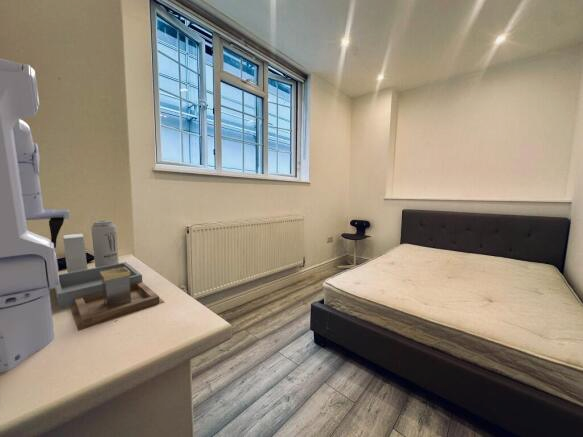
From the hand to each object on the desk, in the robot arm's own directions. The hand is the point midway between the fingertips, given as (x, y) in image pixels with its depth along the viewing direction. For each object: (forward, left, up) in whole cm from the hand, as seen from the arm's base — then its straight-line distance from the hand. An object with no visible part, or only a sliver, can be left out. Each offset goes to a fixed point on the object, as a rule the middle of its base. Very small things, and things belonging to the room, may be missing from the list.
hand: (31, 249), depth 56 cm
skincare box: (+10, -3, -11) cm, 15 cm away
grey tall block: (-12, -24, -10) cm, 28 cm away
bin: (-2, -15, -11) cm, 18 cm away
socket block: (-12, -24, -11) cm, 29 cm away
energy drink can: (+17, -7, -11) cm, 21 cm away
